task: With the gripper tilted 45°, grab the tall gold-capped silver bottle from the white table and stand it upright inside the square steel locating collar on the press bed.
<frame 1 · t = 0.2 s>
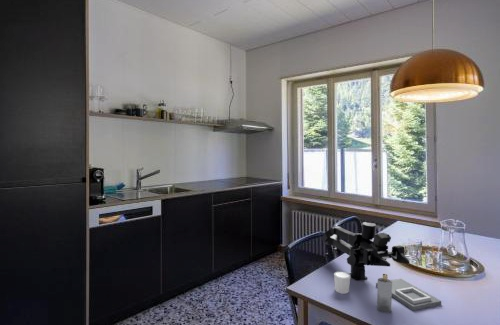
hand: (399, 263, 111), 17 cm above the table, tool horizontal, fingers open, 9 cm apart
gold-capped silver bottle: (384, 309, 109), on the table
shot glass: (341, 290, 123), on the table
press bed: (406, 294, 120), on the table
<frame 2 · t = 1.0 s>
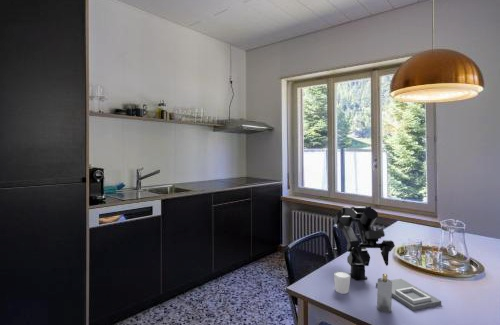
hand: (376, 265, 117), 14 cm above the table, tool tilted 45°, fingers open, 9 cm apart
nothing on the table moved.
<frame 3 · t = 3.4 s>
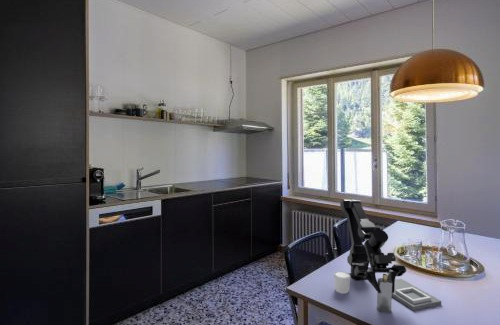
hand: (386, 292, 107), 7 cm above the table, tool tilted 45°, fingers closed on gold-capped silver bottle, 5 cm apart
gold-capped silver bottle: (384, 309, 109), on the table, touching gripper
everything else where it was.
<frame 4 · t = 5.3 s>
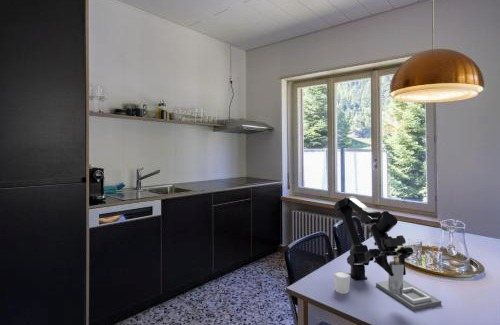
hand: (398, 275, 108), 13 cm above the table, tool tilted 45°, fingers closed on gold-capped silver bottle, 5 cm apart
gold-capped silver bottle: (395, 291, 110), point 6 cm above the table, touching gripper
everything else where it was.
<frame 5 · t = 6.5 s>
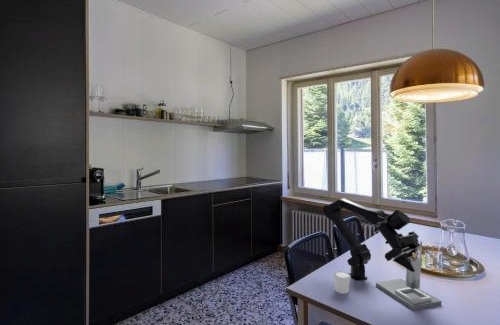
hand: (417, 269, 114), 13 cm above the table, tool tilted 45°, fingers closed on gold-capped silver bottle, 5 cm apart
gold-capped silver bottle: (412, 285, 116), point 6 cm above the table, touching gripper
everything else where it was.
when the fingers open (10 cm above the table, at t = 7.4 s): gold-capped silver bottle drops 2 cm, resting on press bed.
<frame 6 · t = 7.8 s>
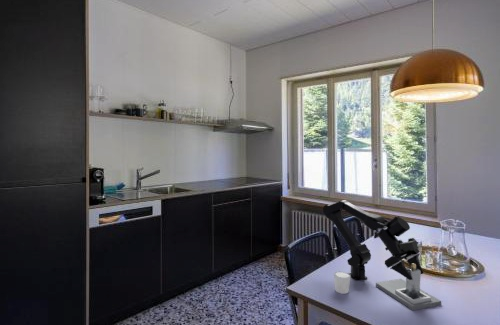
hand: (417, 276, 114), 10 cm above the table, tool tilted 45°, fingers open, 9 cm apart
gold-capped silver bottle: (412, 296, 116), point 2 cm above the table, touching press bed
everything else where it was.
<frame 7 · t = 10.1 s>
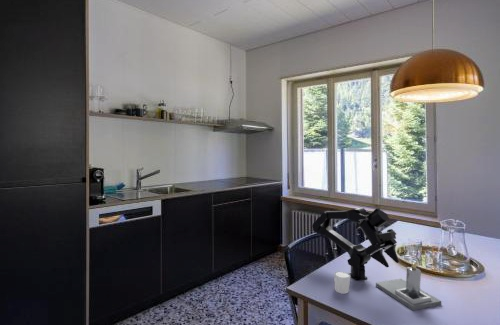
hand: (393, 264, 122), 12 cm above the table, tool tilted 45°, fingers open, 9 cm apart
nothing on the table moved.
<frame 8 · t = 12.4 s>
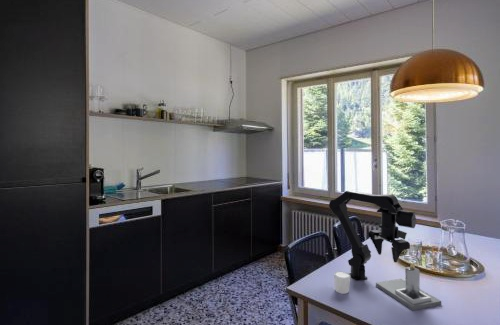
hand: (387, 258, 126), 13 cm above the table, tool pointing down, fingers open, 9 cm apart
nothing on the table moved.
at the end: gold-capped silver bottle 0.1 cm from the target spot on the press bed, point 1.6 cm above the press bed's base; gold-capped silver bottle tilted 2°; the gripper is holding nothing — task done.
